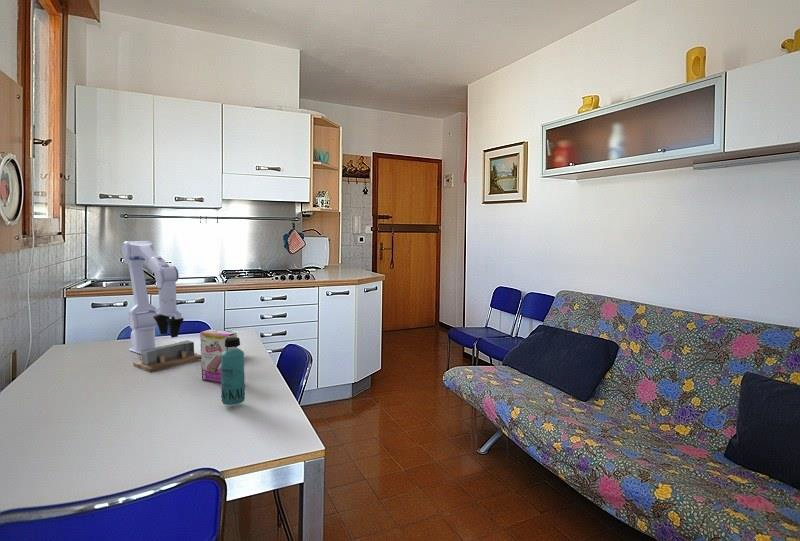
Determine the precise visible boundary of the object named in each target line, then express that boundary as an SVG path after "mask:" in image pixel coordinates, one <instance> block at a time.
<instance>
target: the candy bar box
mask: <svg viewBox="0 0 800 541" xmlns="http://www.w3.org/2000/svg"><path fill="white" fill-rule="evenodd" d="M227 331H228V330H219V329H218V330H217V329H206V330H203V331H201V332H199V333H200V355H201V360H200V362H201V367H200V368H201V380H202V381H207V382H213V383H219V384H221V353H222V352H223V351H224V350H226V349H229V348H238V346H237V347H225V339H226V338H230V337H238V333H237V332H234V331H232V332H227Z"/></svg>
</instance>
